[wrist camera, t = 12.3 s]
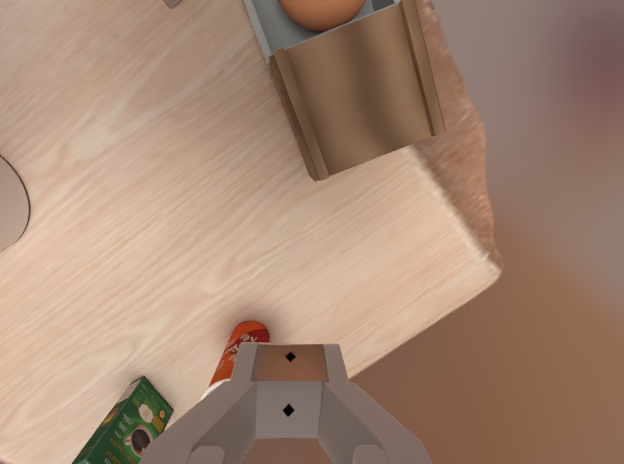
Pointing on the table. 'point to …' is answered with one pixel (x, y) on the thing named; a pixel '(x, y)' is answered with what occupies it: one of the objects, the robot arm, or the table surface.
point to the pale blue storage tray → (291, 24)
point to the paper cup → (236, 351)
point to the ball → (322, 12)
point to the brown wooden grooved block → (359, 90)
